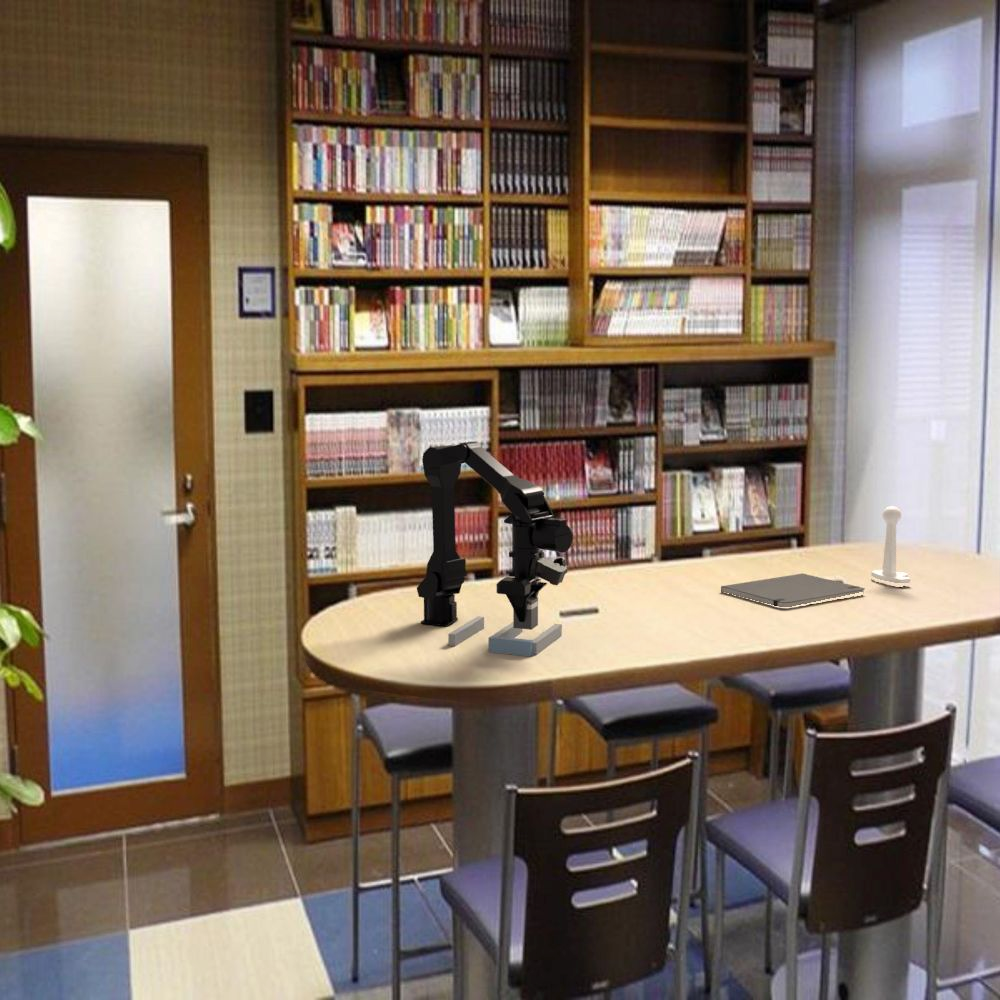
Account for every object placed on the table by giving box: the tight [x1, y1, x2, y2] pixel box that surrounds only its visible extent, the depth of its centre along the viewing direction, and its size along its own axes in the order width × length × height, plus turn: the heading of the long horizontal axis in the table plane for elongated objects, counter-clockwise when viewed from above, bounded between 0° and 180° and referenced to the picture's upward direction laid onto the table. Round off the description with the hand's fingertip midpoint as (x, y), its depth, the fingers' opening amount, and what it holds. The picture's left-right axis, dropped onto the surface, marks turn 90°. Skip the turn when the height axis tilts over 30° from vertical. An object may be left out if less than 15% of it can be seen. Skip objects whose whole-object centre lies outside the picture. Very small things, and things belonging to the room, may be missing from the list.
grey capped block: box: [512, 596, 539, 630], centre depth 255 cm, size 4×4×6 cm
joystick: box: [870, 505, 912, 583], centre depth 311 cm, size 11×8×20 cm
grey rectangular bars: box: [447, 615, 563, 657], centre depth 257 cm, size 20×18×3 cm
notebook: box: [720, 573, 866, 607], centre depth 300 cm, size 22×2×28 cm
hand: (525, 619), depth 256 cm, fingers closed on grey capped block, 4 cm apart
